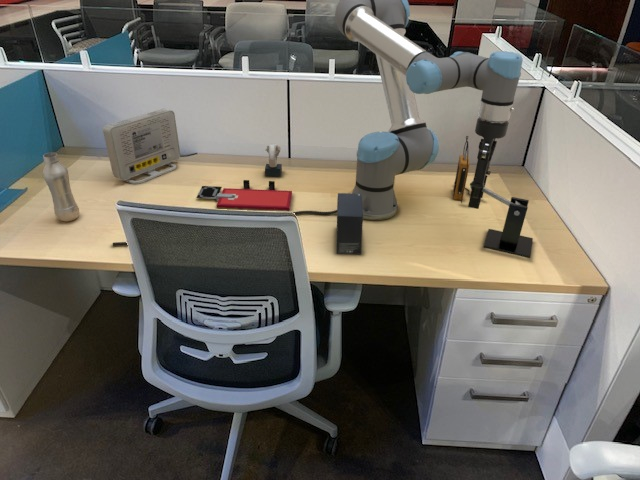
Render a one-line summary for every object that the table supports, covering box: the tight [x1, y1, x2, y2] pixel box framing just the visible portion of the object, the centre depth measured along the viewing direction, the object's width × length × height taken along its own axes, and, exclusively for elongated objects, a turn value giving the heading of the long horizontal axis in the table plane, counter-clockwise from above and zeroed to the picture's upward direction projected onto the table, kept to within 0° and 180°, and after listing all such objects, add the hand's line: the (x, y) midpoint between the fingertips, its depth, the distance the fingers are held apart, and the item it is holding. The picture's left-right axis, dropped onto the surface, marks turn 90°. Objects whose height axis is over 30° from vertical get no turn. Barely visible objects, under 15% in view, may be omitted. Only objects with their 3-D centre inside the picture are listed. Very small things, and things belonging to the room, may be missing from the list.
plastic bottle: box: [42, 152, 80, 222], centre depth 136 cm, size 6×7×20 cm
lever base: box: [483, 196, 534, 259], centre depth 129 cm, size 12×10×14 cm
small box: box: [336, 192, 364, 255], centre depth 130 cm, size 13×7×12 cm, turn 178°
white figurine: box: [264, 143, 283, 178], centre depth 168 cm, size 6×8×11 cm
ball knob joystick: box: [469, 180, 525, 207], centre depth 127 cm, size 15×4×4 cm, turn 66°
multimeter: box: [452, 135, 485, 204], centre depth 153 cm, size 15×10×20 cm
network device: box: [102, 108, 181, 185], centre depth 164 cm, size 26×9×20 cm, turn 144°
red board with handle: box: [196, 179, 293, 211], centre depth 154 cm, size 30×3×15 cm
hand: (475, 201), depth 131 cm, fingers open, 6 cm apart
